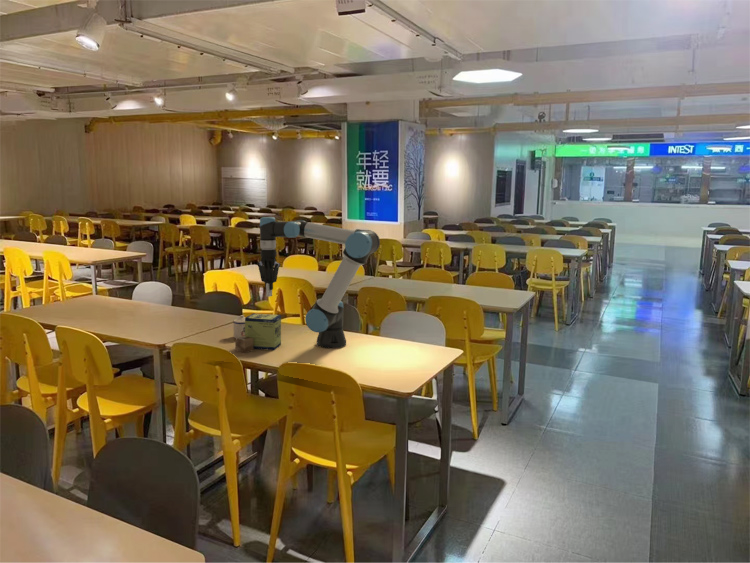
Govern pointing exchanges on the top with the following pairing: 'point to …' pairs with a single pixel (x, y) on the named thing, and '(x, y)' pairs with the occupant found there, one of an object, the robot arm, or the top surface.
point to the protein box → (264, 330)
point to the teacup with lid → (239, 327)
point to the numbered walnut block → (244, 344)
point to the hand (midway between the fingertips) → (269, 296)
